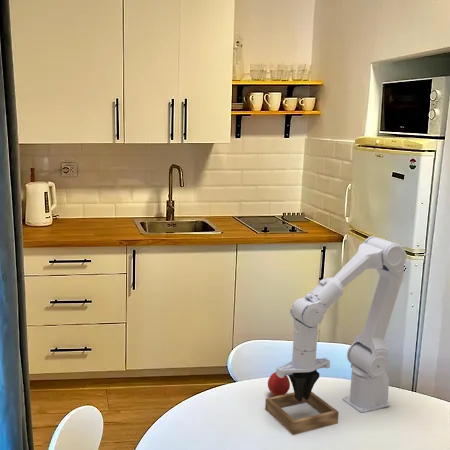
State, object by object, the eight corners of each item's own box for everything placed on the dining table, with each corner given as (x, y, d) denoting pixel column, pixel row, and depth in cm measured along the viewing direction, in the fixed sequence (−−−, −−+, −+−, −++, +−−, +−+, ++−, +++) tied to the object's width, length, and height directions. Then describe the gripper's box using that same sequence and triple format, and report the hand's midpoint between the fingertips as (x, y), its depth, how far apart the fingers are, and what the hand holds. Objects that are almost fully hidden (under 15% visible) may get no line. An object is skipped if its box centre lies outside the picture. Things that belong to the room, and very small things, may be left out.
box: (307, 399, 155) (308, 389, 155) (337, 423, 144) (338, 411, 143) (265, 409, 150) (265, 398, 149) (293, 434, 138) (293, 423, 138)
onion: (287, 391, 159) (288, 364, 158) (290, 402, 154) (292, 373, 152) (266, 391, 159) (267, 364, 158) (268, 402, 153) (269, 373, 152)
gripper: (319, 337, 150) (316, 386, 153) (270, 345, 144) (268, 397, 146) (336, 347, 144) (333, 398, 146) (286, 356, 137) (283, 410, 140)
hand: (301, 398), depth 146 cm, fingers closed
